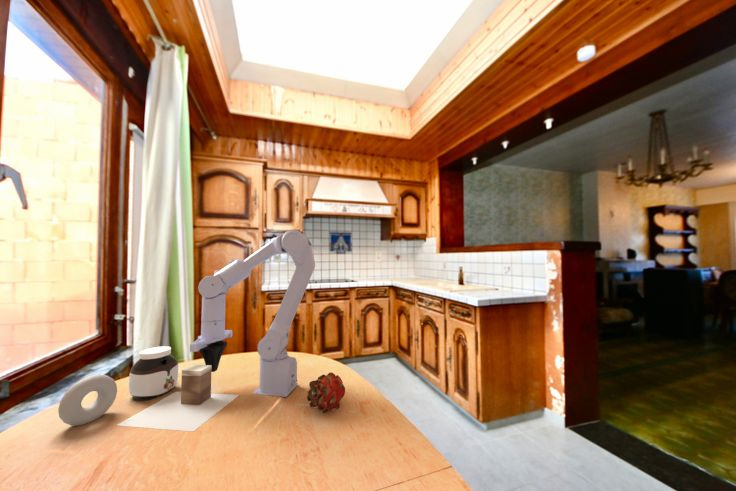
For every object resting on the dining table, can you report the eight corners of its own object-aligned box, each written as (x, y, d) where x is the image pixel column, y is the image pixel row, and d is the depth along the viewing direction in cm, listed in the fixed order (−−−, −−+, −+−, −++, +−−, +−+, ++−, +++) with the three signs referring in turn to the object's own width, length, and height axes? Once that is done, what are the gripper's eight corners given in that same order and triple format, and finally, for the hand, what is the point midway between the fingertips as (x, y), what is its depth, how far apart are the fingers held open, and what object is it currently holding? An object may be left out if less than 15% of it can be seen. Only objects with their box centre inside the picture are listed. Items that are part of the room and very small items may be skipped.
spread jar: (143, 406, 69) (145, 357, 70) (113, 399, 73) (115, 353, 74) (188, 385, 81) (190, 344, 82) (160, 380, 84) (161, 340, 85)
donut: (62, 437, 57) (65, 386, 58) (52, 434, 58) (55, 384, 59) (120, 412, 66) (121, 368, 67) (110, 410, 68) (112, 367, 68)
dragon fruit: (312, 429, 62) (331, 410, 73) (343, 407, 61) (357, 391, 73) (293, 393, 64) (315, 379, 76) (323, 371, 64) (340, 361, 75)
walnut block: (210, 397, 73) (211, 365, 73) (199, 405, 69) (200, 371, 69) (192, 396, 73) (193, 364, 74) (180, 403, 69) (181, 370, 70)
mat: (239, 397, 74) (239, 395, 74) (193, 433, 58) (193, 431, 58) (176, 393, 76) (176, 391, 76) (115, 427, 60) (116, 425, 60)
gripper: (217, 314, 86) (216, 361, 85) (179, 325, 71) (177, 381, 70) (239, 315, 85) (238, 362, 84) (205, 326, 70) (203, 382, 69)
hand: (212, 370), depth 77 cm, fingers closed
